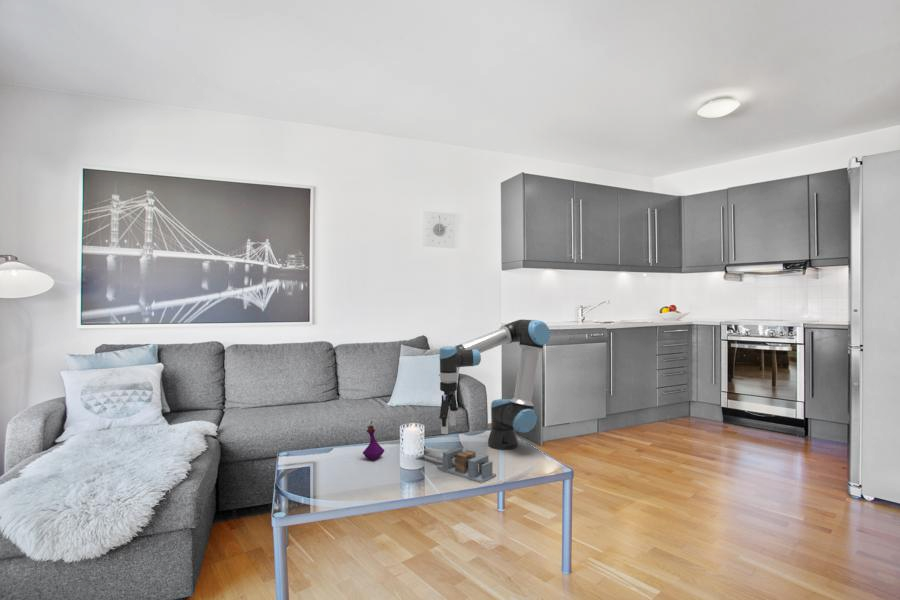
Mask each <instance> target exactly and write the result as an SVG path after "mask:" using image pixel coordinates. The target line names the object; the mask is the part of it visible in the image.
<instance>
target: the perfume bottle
mask: <svg viewBox="0 0 900 600" xmlns="http://www.w3.org/2000/svg"><path fill="white" fill-rule="evenodd" d="M373 423H374V424H376V426H377V425H378V423H379V422H378V420H377V419H372V420H371V421H370V425H367V429H366V433H368V435H369V438H370V442H369V444H368V445H367V446H366V448H365V449H364V450H363V452H362V455H363V456H364V457H365V458H366V459H367V460H370V461H376V460H378V459H380V458H381V457H382V456H383V453H384V452H385V449H384V448H383V447H382V446H381V445H380V444H379V443H378V441H377V440H376V437H375V432H376V429H375V428H374V427H375V426H374V425H372V424H373Z"/></svg>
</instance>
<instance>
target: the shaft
mask: <svg viewBox="0 0 900 600" xmlns="http://www.w3.org/2000/svg"><path fill="white" fill-rule="evenodd" d="M423 446H424V445H423ZM423 456H425V457H429V458H432V459H435V460H439V461H441V462H443V452H439V451H435V450H431V449H430V448H426V446H424V455H423ZM452 464H455V457H453V456H452Z"/></svg>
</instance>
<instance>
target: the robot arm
mask: <svg viewBox="0 0 900 600" xmlns="http://www.w3.org/2000/svg"><path fill="white" fill-rule="evenodd" d="M550 337H551V332H550V328H549V326H548V324H546V322H544V321H543V320H539V319H524V318H523V319H517V320H515V321H512V322H509V323H506V324H504V325H501V326H500V327H499V328H498V329H497V330H494V331H491V332H489V333H487V334H484V335H481V336H478V337H476V338H473V339H471V340H468V341H466V342H463V343H460V344H458V345H455V346H454V345H453V346H448V345H447V346H442V347H440V350H439V357H438V358H439V373H438V377H440V378H439V381H440V383H439V390H440V391H441V392H444V393H443V394H442V395H441V404H440V411H439V420H440V421H441V422H440V423H441V425H440V426H441V429H440V430H441V434H442V435H448V434H449V426H451V427H452V426H456V425H457V420H456V419H457V416H456V415H457V413H456V412H457V411H458V410H459V409H458V405H457V397H456V391H457V390H458V382H457V381H458V372H457V370H458V368H465V367H467V368H468V367H475V366H478V365H480V363H481V362H482V361H481V359H482V356H481V353H484V352H487V351H490V350H492V349H494V348H495V347H496V348H497V347H499V346H502V345H504V344H506V345H509V344H512V343H519V344H518V345H519V348H521V353H520V356H519V357H520V359H519V362H518V363H519V364H518V368H517V370H518V371H517V376H516V381H515V388H514V389H515V390H514V396H513V397H512V398H500V399H494V400H492V401H491V404H490V414H491V415H490V417H491V418H490V419H491V420H490V422H491V425H490V427H491V428H490V433H489V437H488V439H487V445H488V446H489V447H490V448H493V449H496V450H497V449H498V450H512V449H515V448H517V447H519V441H518V438H517V433H516V432H519V433H523V434H524V433H525V434H526V433H529V432H531V430H533V429H534V428H535V426H536V424H537V420H538V416H537V414H536V412H535V410H534V408H535V407H534V406H535V405H534V403H533V401H532V400H533V395H534V394H533V393H534V386H535V380H536V376H537V375H536V373H537V367H538V363H539V362H538V361H539V356H540V355H539V354H540V353H541V351H543V350H544V345H546V344H547V343H548V342H549V340H550ZM449 410H450V411H449ZM448 415H449V419H448Z"/></svg>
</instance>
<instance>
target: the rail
mask: <svg viewBox="0 0 900 600" xmlns="http://www.w3.org/2000/svg"><path fill="white" fill-rule="evenodd" d="M463 451H464V449H463V447H458V446H457V447H454V448H450V449H449V450H446V451H442V453H443V461H442V464H439V465H437V466H436V469H438V470H439V471H444V472H447V473H449V474H453V475H456V476H459V477H462V478H464V477H465V478H464V479H467V478H468V480H470V479H471V480H470V481H473V480H475V481H474V482H476V481H478V482H477V483H479V482H481V483H480V484H483V483H485V482H487V481H489V480H491V479H490V478H492V477H494V478H495V476H496V477H497V473H495V472H493V461H492V460H491V461H490V460H489V455H487V454H485V453H483V454H479V455H477V456H476V457H475V458H472V459H470V460H468V468H467V467H466V473H465V474H463V473H460V472H457V471H455V464H452V456H453V457H455V454H458V453H461V452H463ZM488 479H489V480H488ZM492 479H493V478H492ZM486 480H487V481H486ZM484 481H485V482H484ZM482 482H483V483H482Z"/></svg>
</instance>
